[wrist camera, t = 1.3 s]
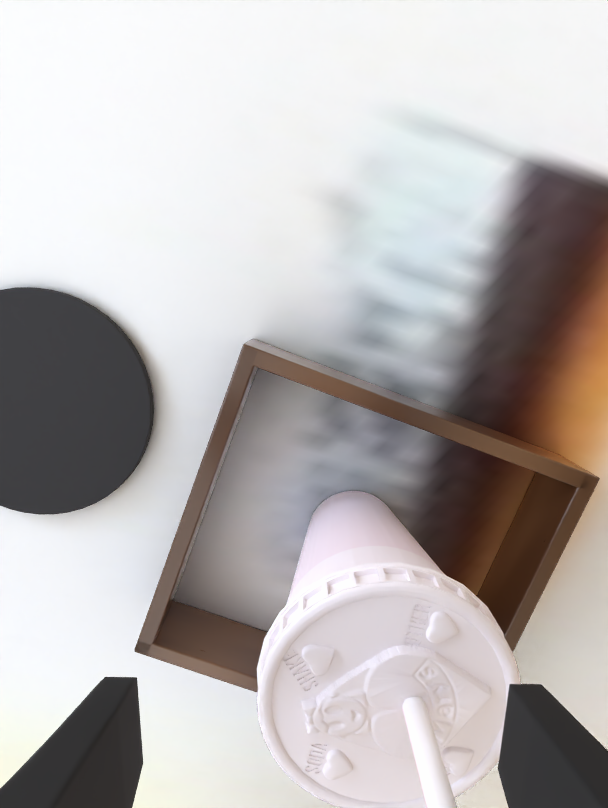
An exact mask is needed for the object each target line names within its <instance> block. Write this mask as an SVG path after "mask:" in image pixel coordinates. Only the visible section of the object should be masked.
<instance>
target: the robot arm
mask: <svg viewBox="0 0 608 808" xmlns="http://www.w3.org/2000/svg"><path fill="white" fill-rule="evenodd" d="M142 765H143V755H142V741H141V727H140V713H139V700H138V686H137V678H134V677H105V678H104V679H103V680H102V681H101V682H100V683H99V684H98V685H97V686H96V687H95V688H94V689H93V690H92V691H91V692H90V694H89V695H88V696H87V697H86V698H85V699H84V700H83V701H82V703H81V704H80V705H79V706H78V707H77V708H76V709H75V710H74V711H73V713H72V714H71V715H70V716H69V717H68V718H67V719H66V720H65V721H64V722H63V724H62V725H61V726H60V727H59V728H58V729H57V730H56V731H55V732H54V733H53V734H52V736H51V737H50V738H49V739H48V740H47V741H46V742H45V743H44V744H43V745H42V746H41V747H40V748H39V749H38V750H37V751H36V752H35V753H34V755H33V756H32V757H31V758H30V759H29V760H28V761H27V762H26V763H25V764H24V765H23V766H22V767H21V768H20V769H19V770H18V771H17V772H16V773H15V774H14V775H13V776H12V777H11V778H10V780H9V781H8V782H7V783H6V784H5V785H4V786H3V787H2V788H0V808H132V806H133V802H134V798H135V794H136V790H137V786H138V782H139V777H140V773H141V769H142ZM498 771H499V774H500V778H501V782H502V785H503V789H504V793H505V796H506V800H507V804H508V807H509V808H608V751H607V750H606V749H605V748H604V747H603V746H602V745H601V744H600V743H599V742H598V741H597V740H596V739H595V738H594V737H593V736H592V735H591V734H590V733H589V732H588V731H587V730H586V729H585V728H584V727H583V726H582V725H581V724H580V723H579V722H578V721H577V720H576V719H575V718H574V717H573V716H572V715H571V714H570V713H569V712H568V711H567V710H566V709H565V708H564V707H563V706H562V705H561V704H560V703H559V702H558V701H557V700H556V699H555V698H554V697H553V696H552V695H551V694H550V693H549V692H548V691H547V690H546V689H545V688H544V687H543V686H542V685H541V684H509V692H508V699H507V706H506V713H505V721H504V728H503V735H502V743H501V750H500V757H499V764H498Z"/></svg>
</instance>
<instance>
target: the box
mask: <svg viewBox="0 0 608 808" xmlns="http://www.w3.org/2000/svg"><path fill="white" fill-rule="evenodd" d="M258 368H260V369H263V370H265V371H268V372H271V373H273V374H276V375H279V376H281V377H284V378H287V379H289V380H292V381H295V382H297V383H300V384H303V385H305V386H308V387H311V388H313V389H316V390H319V391H321V392H324V393H327V394H329V395H332V396H335V397H337V398H340V399H343V400H345V401H348V402H351V403H353V404H356V405H359V406H361V407H364V408H367V409H369V410H372V411H375V412H377V413H380V414H383V415H385V416H388V417H391V418H393V419H396V420H399V421H401V422H404V423H407V424H409V425H412V426H415V427H417V428H420V429H423V430H425V431H428V432H431V433H433V434H436V435H439V436H441V437H444V438H447V439H449V440H452V441H455V442H457V443H460V444H463V445H465V446H468V447H471V448H473V449H476V450H479V451H481V452H484V453H487V454H489V455H492V456H495V457H497V458H500V459H503V460H505V461H508V462H511V463H513V464H516V465H519V466H521V467H524V468H527V469H529V470H532V471H535V472H536V474H535V476H534V478H533V480H532V482H531V484H530V486H529V489H528V491H527V493H526V495H525V497H524V499H523V501H522V503H521V505H520V507H519V510H518V512H517V514H516V516H515V518H514V520H513V522H512V524H511V526H510V528H509V530H508V533H507V535H506V537H505V539H504V541H503V543H502V545H501V547H500V549H499V551H498V553H497V556H496V558H495V560H494V562H493V564H492V566H491V568H490V570H489V572H488V574H487V577H486V579H485V581H484V583H483V585H482V587H481V589H480V591H479V593H478V595H477V597H478V598H479V599H480V600H481V601H482V602H483V603H484V604H485V605H486V606H487V607H488V609H489V610H490V612H491V613H492V615H493V617H494V618H495V620H496V622H497V623H498V625H499V627H500V628H501V630H502V632H503V634H504V638H505V640H506V641H507V643H508V645H509V647H510V649H511V651H512V653H513V651H514V649H515V647H516V645H517V643H518V641H519V639H520V637H521V635H522V633H523V631H524V629H525V627H526V625H527V623H528V621H529V619H530V617H531V615H532V613H533V611H534V609H535V607H536V605H537V603H538V601H539V599H540V597H541V595H542V593H543V591H544V589H545V587H546V585H547V583H548V581H549V579H550V577H551V575H552V573H553V571H554V569H555V567H556V565H557V563H558V561H559V559H560V557H561V555H562V553H563V551H564V549H565V547H566V545H567V543H568V541H569V539H570V537H571V535H572V533H573V531H574V529H575V527H576V525H577V523H578V521H579V519H580V517H581V515H582V513H583V511H584V509H585V507H586V505H587V503H588V501H589V499H590V497H591V495H592V493H593V491H594V489H595V487H596V485H597V483H598V481H599V479H600V478H599V477H597V476H595V475H594V474H592V473H590V472H588V471H587V470H585V469H583V468H582V467H580V466H578V465H576V464H575V463H573V462H571V461H569V460H568V459H566V458H564V457H562V456H561V455H559V454H556V453H554V452H551V451H548V450H546V449H543V448H540V447H538V446H535V445H533V444H530V443H527V442H525V441H522V440H519V439H517V438H514V437H511V436H509V435H506V434H504V433H501V432H498V431H496V430H493V429H490V428H488V427H485V426H482V425H480V424H477V423H474V422H472V421H469V420H467V419H464V418H461V417H459V416H456V415H453V414H451V413H448V412H445V411H443V410H440V409H438V408H435V407H432V406H430V405H427V404H424V403H422V402H419V401H416V400H414V399H411V398H408V397H406V396H403V395H401V394H398V393H395V392H393V391H390V390H387V389H385V388H382V387H379V386H377V385H374V384H372V383H369V382H366V381H364V380H361V379H358V378H356V377H353V376H350V375H348V374H345V373H342V372H340V371H337V370H335V369H332V368H329V367H327V366H324V365H321V364H319V363H316V362H313V361H311V360H308V359H306V358H303V357H300V356H298V355H295V354H292V353H290V352H287V351H284V350H282V349H279V348H276V347H274V346H271V345H269V344H266V343H263V342H261V341H258V340H255V339H251V340H250V341H248V342H246V343H245V344H244V345H243V347H242V350H241V353H240V355H239V358H238V361H237V364H236V367H235V370H234V372H233V375H232V378H231V381H230V384H229V386H228V389H227V392H226V395H225V398H224V400H223V403H222V406H221V409H220V412H219V414H218V417H217V420H216V423H215V426H214V428H213V431H212V434H211V437H210V440H209V442H208V445H207V448H206V451H205V454H204V456H203V459H202V462H201V465H200V468H199V470H198V473H197V476H196V479H195V482H194V484H193V487H192V490H191V493H190V496H189V498H188V501H187V504H186V507H185V510H184V512H183V515H182V518H181V521H180V524H179V526H178V529H177V532H176V535H175V538H174V540H173V543H172V546H171V549H170V552H169V554H168V557H167V560H166V563H165V566H164V568H163V571H162V574H161V577H160V580H159V582H158V585H157V588H156V591H155V594H154V596H153V599H152V602H151V605H150V608H149V610H148V613H147V616H146V619H145V622H144V625H143V627H142V630H141V633H140V636H139V639H138V641H137V644H136V647H135V652H137V653H140V654H143V655H146V656H149V657H152V658H155V659H158V660H161V661H164V662H167V663H170V664H173V665H176V666H179V667H182V668H185V669H188V670H191V671H194V672H197V673H200V674H203V675H206V676H209V677H212V678H215V679H218V680H221V681H224V682H227V683H230V684H233V685H236V686H239V687H242V688H245V689H249V690H252V691H255V692H258V681H257V666H258V662H259V658H260V654H261V650H262V646H263V641H264V638H265V637H266V635H267V633H268V632H265V631H262V630H259V629H256V628H253V627H250V626H247V625H244V624H241V623H238V622H235V621H232V620H230V619H227V618H224V617H221V616H218V615H215V614H212V613H209V612H206V611H203V610H200V609H197V608H194V607H191V606H189V605H186V604H183V603H180V602H177V601H174V600H173V599H174V597H175V594H176V591H177V588H178V586H179V583H180V580H181V577H182V575H183V572H184V569H185V566H186V564H187V561H188V558H189V555H190V553H191V550H192V547H193V544H194V542H195V539H196V536H197V533H198V531H199V528H200V525H201V523H202V520H203V517H204V514H205V512H206V509H207V506H208V503H209V501H210V498H211V495H212V492H213V490H214V487H215V484H216V481H217V479H218V476H219V473H220V470H221V468H222V465H223V462H224V459H225V457H226V454H227V451H228V448H229V446H230V443H231V440H232V438H233V435H234V432H235V429H236V427H237V424H238V421H239V418H240V416H241V413H242V410H243V407H244V405H245V402H246V399H247V396H248V394H249V391H250V388H251V385H252V383H253V380H254V377H255V374H256V372H257V369H258Z"/></svg>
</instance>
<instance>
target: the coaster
mask: <svg viewBox="0 0 608 808" xmlns="http://www.w3.org/2000/svg"><path fill="white" fill-rule="evenodd" d="M153 413H154V407H153V394H152V389H151V384H150V380H149V377H148V374H147V371H146V368H145V365H144V363H143V361H142V359H141V357H140V355H139V353H138V351H137V350H136V348H135V347H134V345H133V343H132V342H131V340H130V339H129V338H128V337H127V335H126V334H125V333H124V332H123V331H122V329H121V328H120V327H119V326H118V325H117V324H116V323H114V322H113V321H112V320H111V319H110V318H109V317H108V316H107V315H105V314H104V313H102V312H101V311H100V310H98V309H97V308H96V307H94V306H92V305H90V304H88V303H87V302H85V301H83V300H81V299H79V298H76V297H74V296H71V295H69V294H66V293H62V292H58V291H54V290H49V289H41V288H11V289H4V290H0V506H3V507H6V508H9V509H12V510H16V511H20V512H24V513H33V514H59V513H67V512H71V511H75V510H79V509H83V508H85V507H87V506H90V505H92V504H95V503H96V502H98V501H100V500H102V499H103V498H105V497H107V496H108V495H109V494H111V493H112V492H113V491H115V490H116V489H117V488H118V487H119V486H120V485H121V484H122V483H123V482H124V481H125V480H126V479H127V478H128V477H129V476H130V475H131V474H132V472H133V471H134V469H135V468H136V467H137V465H138V464H139V462H140V460H141V458H142V456H143V454H144V453H145V450H146V447H147V445H148V442H149V439H150V435H151V430H152V425H153Z"/></svg>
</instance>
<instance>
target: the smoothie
mask: <svg viewBox="0 0 608 808" xmlns="http://www.w3.org/2000/svg"><path fill="white" fill-rule="evenodd" d="M257 681H258V692H257V712H258V719H259V724H260V728H261V732H262V735H263V737H264V740H265V743H266V745H267V747H268V749H269V751H270V753H271V754H272V756H273V757H274V759H275V761H276V762H277V764H278V765H279V766H280V767H281V768H282V770H283V771H284V772H285V773H286V774H287V775H288V776H289V777H290V778H291V779H292V780H293V781H294V782H295V783H296V784H298V785H299V786H300V787H301V788H303V789H304V790H306V791H307V792H308V793H310V794H311V795H313V796H315V797H317V798H319V799H320V800H322V801H325V802H327V803H329V804H331V805H333V806H337V807H340V808H457V805H456V802H455V798H456V797H457V796H459V795H460V794H462V793H464V792H465V791H467V790H468V789H470V788H472V787H473V786H474V785H475V784H476V783H478V782H479V781H480V780H481V779H482V778H483V777H484V776H485V775H486V774H487V773H489V772H490V771H491V770H492V768H493V767H494V766H495V765H496V763H497V762H498V761H499V757H500V750H501V743H502V735H503V728H504V721H505V713H506V706H507V699H508V692H509V684H521V681H520V675H519V670H518V667H517V663H516V660H515V658H514V655H513V653H512V651H511V649H510V647H509V645H508V643H507V641H506V640H505V638H504V634H503V632H502V630H501V628H500V627H499V625H498V623H497V622H496V620H495V618H494V617H493V615H492V613H491V612H490V610H489V609H488V607H487V606H486V605H485V604H484V603H483V602H482V601H481V600H480V599H479V598H478V597H476V596H475V595H474V594H473V593H472V592H471V591H470V590H469V589H468V588H467V587H466V586H464V585H463V584H461V583H460V582H458V581H456V580H454V579H452V578H450V577H448V576H446V575H445V574H444V573H443V572H442V571H441V570H440V569H439V567H438V566H437V565H436V564H435V563H434V561H433V560H432V559H431V558H430V557H429V555H428V554H427V553H426V552H425V551H424V549H423V548H422V547H421V546H420V545H419V543H418V542H417V541H416V540H415V539H414V537H413V536H412V535H411V534H410V533H409V531H408V530H407V529H406V528H405V527H404V525H403V524H402V523H401V522H400V521H399V519H398V518H397V517H396V516H395V515H394V514H393V512H392V511H391V510H390V509H389V508H388V506H387V505H386V504H385V503H384V502H383V501H381V500H380V499H379V498H377V497H376V496H374V495H372V494H369V493H366V492H361V491H345V492H341V493H337V494H335V495H333V496H331V497H329V498H327V499H326V500H325V501H323V502H322V503H321V504H320V505H319V506H318V507H317V509H316V510H315V511H314V513H313V515H312V517H311V520H310V523H309V526H308V530H307V533H306V537H305V540H304V544H303V548H302V551H301V555H300V558H299V562H298V565H297V569H296V572H295V576H294V580H293V583H292V587H291V590H290V594H289V597H288V601H287V604H286V606H285V607H284V608H283V609H282V610H281V611H280V612H279V614H278V616H277V618H276V619H275V621H274V623H273V624H272V626H271V628H270V630H269V631H268V633H267V635H266V637H265V638H264V641H263V646H262V650H261V654H260V658H259V662H258V666H257Z"/></svg>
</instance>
